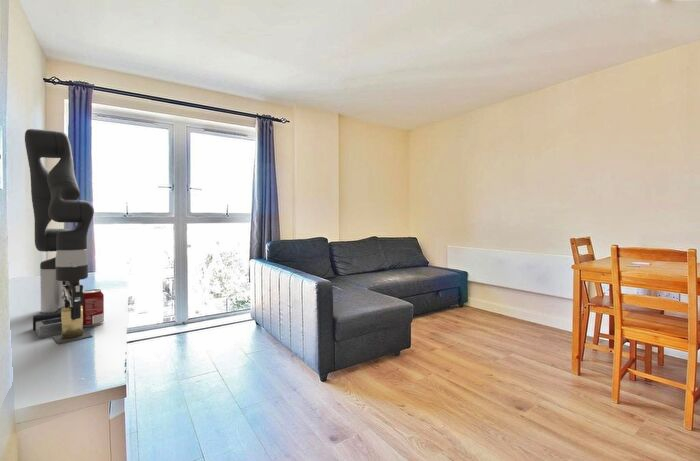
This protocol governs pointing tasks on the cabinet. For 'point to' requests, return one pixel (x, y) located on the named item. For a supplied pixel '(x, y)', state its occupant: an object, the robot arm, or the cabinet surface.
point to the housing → (48, 327)
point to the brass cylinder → (71, 324)
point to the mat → (60, 340)
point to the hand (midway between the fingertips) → (72, 316)
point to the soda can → (93, 307)
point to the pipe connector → (46, 317)
